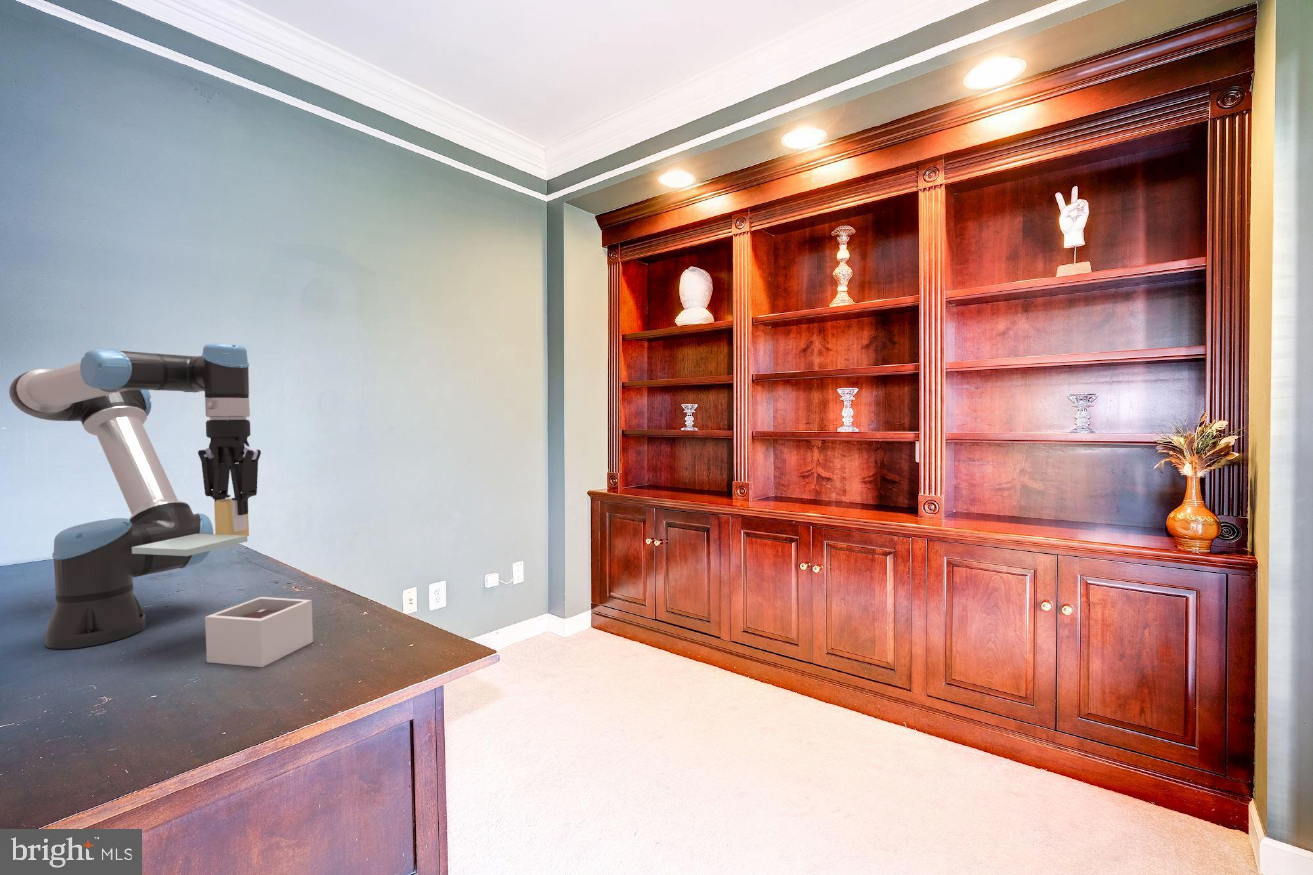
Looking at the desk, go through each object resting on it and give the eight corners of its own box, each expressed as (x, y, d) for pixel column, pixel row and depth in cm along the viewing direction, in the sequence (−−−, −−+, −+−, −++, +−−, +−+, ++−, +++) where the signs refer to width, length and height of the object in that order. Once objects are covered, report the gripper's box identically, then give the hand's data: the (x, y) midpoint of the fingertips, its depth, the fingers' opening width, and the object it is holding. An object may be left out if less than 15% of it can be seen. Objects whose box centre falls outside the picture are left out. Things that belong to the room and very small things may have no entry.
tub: (206, 662, 109) (205, 616, 108) (262, 637, 120) (260, 596, 120) (262, 667, 106) (260, 620, 106) (312, 641, 118) (311, 600, 118)
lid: (131, 553, 110) (130, 511, 110) (218, 534, 128) (217, 497, 127) (187, 556, 108) (185, 512, 108) (268, 536, 125) (266, 499, 125)
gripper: (178, 419, 121) (183, 532, 122) (245, 418, 118) (249, 534, 119) (212, 418, 128) (216, 525, 129) (275, 418, 125) (279, 527, 126)
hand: (232, 529), depth 124 cm, fingers closed on lid, 3 cm apart
